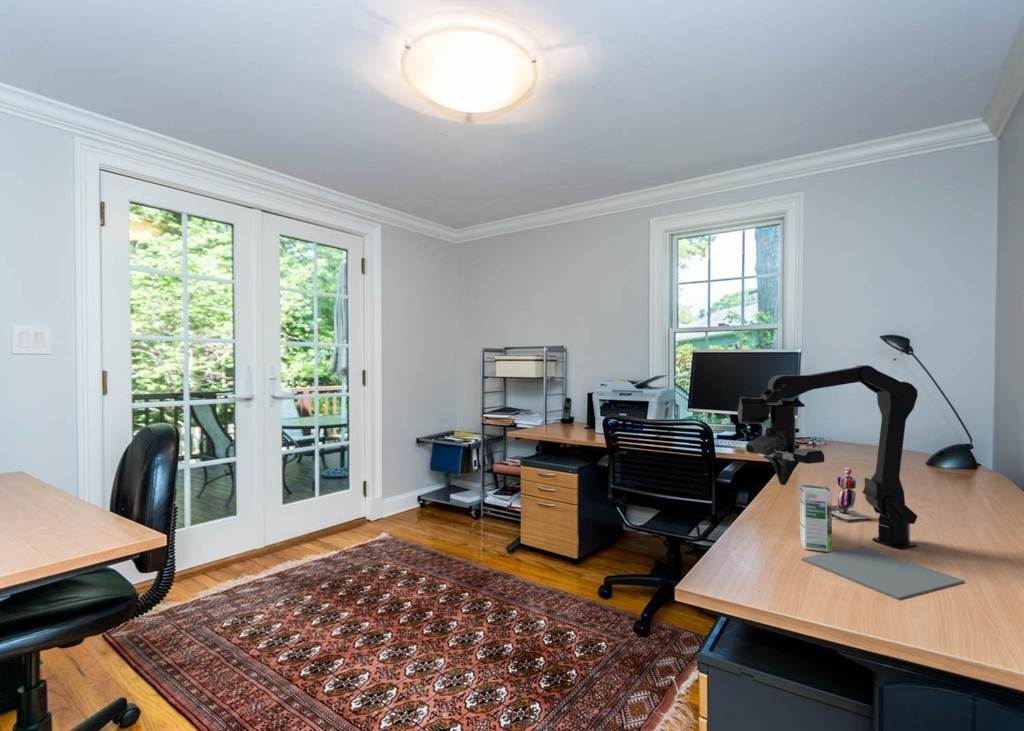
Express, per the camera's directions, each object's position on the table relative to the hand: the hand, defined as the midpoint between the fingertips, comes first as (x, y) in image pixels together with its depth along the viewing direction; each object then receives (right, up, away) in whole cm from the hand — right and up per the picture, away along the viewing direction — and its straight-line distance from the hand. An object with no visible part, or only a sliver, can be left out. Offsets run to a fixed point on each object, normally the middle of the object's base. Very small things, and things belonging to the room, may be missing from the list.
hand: (783, 484), depth 124 cm
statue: (+26, -13, +16) cm, 33 cm away
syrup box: (+3, -13, -8) cm, 16 cm away
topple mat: (+8, -13, -22) cm, 26 cm away
